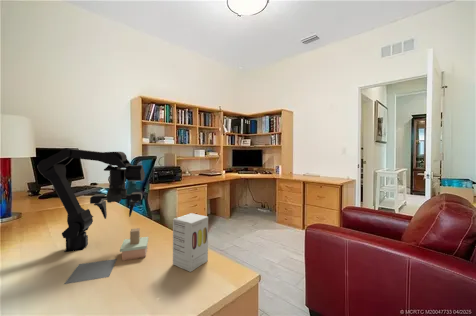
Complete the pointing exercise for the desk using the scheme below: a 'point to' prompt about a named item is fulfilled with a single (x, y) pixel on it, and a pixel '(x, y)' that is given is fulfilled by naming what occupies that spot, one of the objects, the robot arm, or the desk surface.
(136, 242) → the lid
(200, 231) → the supplement box
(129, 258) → the dish
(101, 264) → the mat
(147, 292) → the desk surface
